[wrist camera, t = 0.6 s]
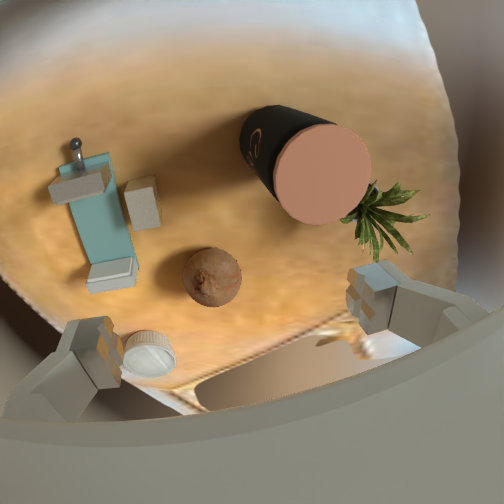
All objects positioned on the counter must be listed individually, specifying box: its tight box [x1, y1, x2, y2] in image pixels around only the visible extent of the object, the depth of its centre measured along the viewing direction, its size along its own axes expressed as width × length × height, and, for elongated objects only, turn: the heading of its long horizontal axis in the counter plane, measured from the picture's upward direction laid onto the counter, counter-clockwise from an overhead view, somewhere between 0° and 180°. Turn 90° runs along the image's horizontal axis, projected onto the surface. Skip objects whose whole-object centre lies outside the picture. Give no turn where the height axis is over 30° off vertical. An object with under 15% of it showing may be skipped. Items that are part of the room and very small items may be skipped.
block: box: [124, 175, 162, 232], centre depth 41 cm, size 6×4×5 cm, turn 4°
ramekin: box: [123, 330, 176, 377], centre depth 58 cm, size 11×11×5 cm
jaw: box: [48, 138, 112, 205], centre depth 34 cm, size 8×8×5 cm
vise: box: [59, 152, 139, 294], centre depth 40 cm, size 20×8×6 cm, turn 4°
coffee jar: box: [239, 105, 371, 225], centre depth 35 cm, size 11×11×18 cm
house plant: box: [339, 180, 429, 263], centre depth 44 cm, size 14×14×16 cm
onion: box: [183, 247, 242, 307], centre depth 48 cm, size 10×9×10 cm
